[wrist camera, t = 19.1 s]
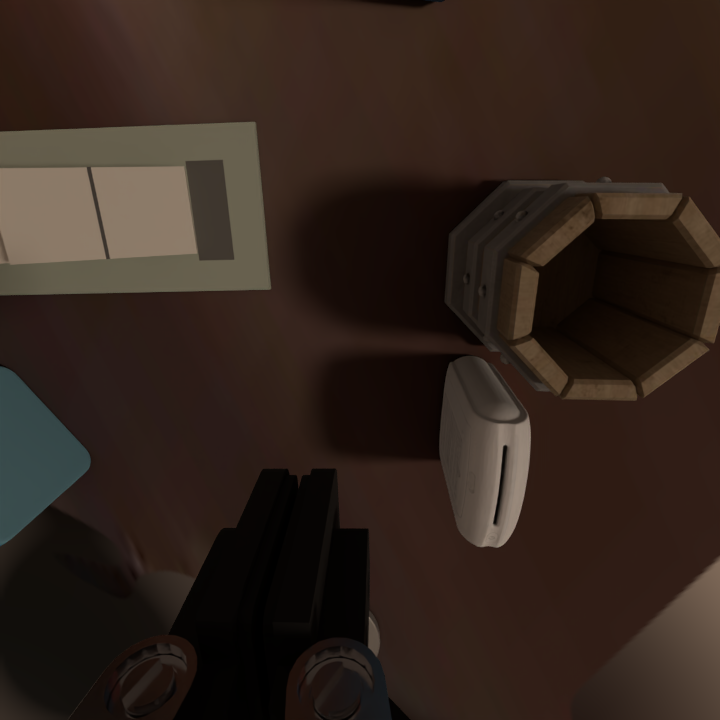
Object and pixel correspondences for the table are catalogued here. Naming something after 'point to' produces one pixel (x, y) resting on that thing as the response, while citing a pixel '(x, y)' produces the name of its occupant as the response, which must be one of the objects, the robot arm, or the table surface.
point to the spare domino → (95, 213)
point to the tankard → (587, 284)
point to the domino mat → (207, 195)
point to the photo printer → (483, 451)
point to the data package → (32, 456)
